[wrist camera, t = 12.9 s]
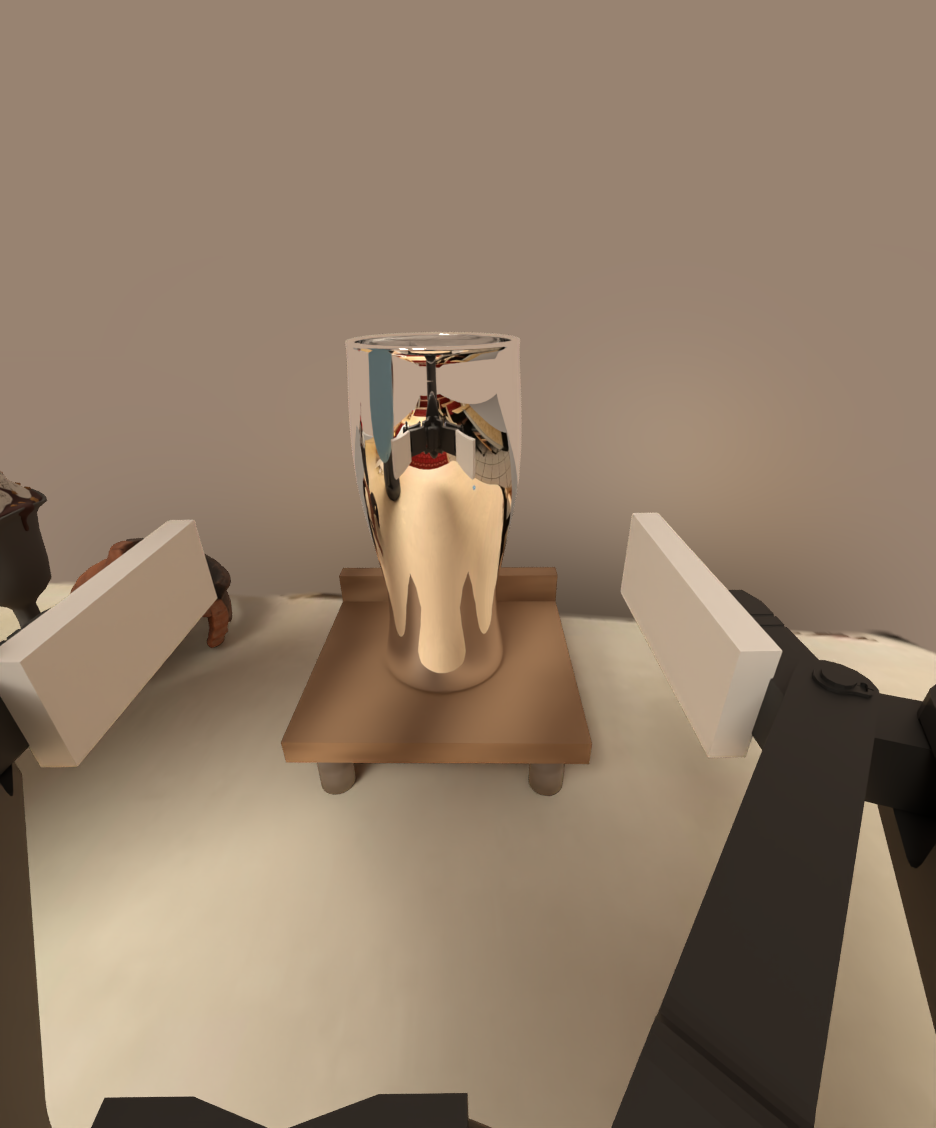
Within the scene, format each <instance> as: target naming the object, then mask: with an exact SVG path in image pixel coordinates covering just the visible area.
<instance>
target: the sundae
mask: <svg viewBox="0 0 936 1128" xmlns="http://www.w3.org/2000/svg"><path fill="white" fill-rule="evenodd" d="M46 501H47V499H46V497H45V495H44V494H42V493H40V492H39V491H36V490H34V489H31V488H30V487H22V486H20V483H16V482H15V483H14V482H12V481H9V480H8V479H7V478H6V477H5V476H4V474H3V473H2V472H1V471H0V606H1V607H7V608H10V609H12V610H13V612H14V614H15V615H16V617H17V619H18V621H19V624H20V626H21V629H22V626H23V625H25V624H26V623H27V622H29V621H30V620H31V619H33V618H34V617H35V616H37V615H38V614H39V613H40V610H39V608H38V606H37V604H36V601H37V598H38V597H39V595H40V594H41V593H42V592H43V591H44V590H45V589H46V587H47V585H48V583H49V581H50V579H51V572H50V567H49V561H48V556H47V553H46V549H45V546H44V543H43V540H42V536H41V532H40V529H39V523H38V516H37V511H38V509H39V507H40V506H41V505H42V504H44V503H45V502H46Z"/></svg>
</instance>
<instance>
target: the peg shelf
mask: <svg viewBox="0 0 936 1128" xmlns="http://www.w3.org/2000/svg"><path fill="white" fill-rule="evenodd" d="M339 578H340V585H341V591H342V598H343V603H342V605H341V607H340V610H339V612H338V614H337V617H336V619H335V621H334V623H333V626H332V628H331V630H330V632H329V635H328V637H327V639H326V641H325V644H324V646H323V648H322V651H321V653H320V655H319V657H318V660H317V662H316V664H315V666H314V669H313V671H312V673H311V675H310V678H309V680H308V682H307V685H306V687H305V689H304V691H303V694H302V696H301V698H300V700H299V703H298V705H297V707H296V709H295V712H294V714H293V716H292V719H291V721H290V723H289V725H288V728H287V730H286V732H285V734H284V737H283V739H282V741H281V745H282V748H283V752H284V756H285V760H286V762H317V766H318V770H319V775H320V779H321V784H322V787H323V789H324V791H326V792H327V793H329V794H341V793H344V792H346V791H347V790H348V789H350V788H351V787H352V785H353V784H354V782H355V771H354V765H353V763H530V764H529V785H530V787H531V788H532V789H533V790H534V791H535V792H536V793H538V794H540V795H545V796H550V795H554V794H556V793H557V792H559V790H560V789H561V787H562V780H563V772H564V764H589V761H590V754H591V747H592V742H591V738H590V734H589V730H588V726H587V722H586V719H585V715H584V711H583V707H582V703H581V699H580V695H579V691H578V687H577V683H576V680H575V676H574V672H573V668H572V664H571V660H570V656H569V652H568V648H567V644H566V641H565V637H564V633H563V629H562V625H561V621H560V617H559V613H558V610H557V605H556V602H555V600H556V599H555V598H556V587H557V572H556V569H555V567H526V568H525V567H519V568H518V567H514V568H513V567H512V568H510V567H504V568H501V570H500V575H499V580H498V589H497V612H498V619H499V624H500V630H501V635H502V640H503V658H502V661H501V664H500V666H499V668H498V669H497V670H496V672H495V673H494V674H493V675H492V676H491V677H490V678H488V679H487V680H485V681H484V682H482V683H480V684H478V685H476V686H474V687H471V688H469V689H465V690H461V691H456V692H447V693H436V692H428V691H423V690H419V689H416V688H413V687H411V686H408V685H406V684H405V683H403V682H401V681H400V680H399V679H397V678H396V677H395V676H394V675H393V673H392V672H391V671H390V669H389V667H388V664H387V661H386V646H387V639H388V631H389V616H390V614H389V601H388V595H387V589H386V584H385V581H384V577H383V574H382V570H381V568H343V569H342V571H341V573H340V576H339Z"/></svg>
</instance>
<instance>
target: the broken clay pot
mask: <svg viewBox="0 0 936 1128" xmlns="http://www.w3.org/2000/svg"><path fill="white" fill-rule="evenodd" d="M143 539H144V538H136V539H127V540H126V541H121V542H118V543H116V544H114V545H113V546H112V547H111V548H110V551H109V555H108V558H107V559H104V560H102V561H101V562H99V563H97V564H95V565H93V566H92V567H90V568H89V569H88V570H87V571H86V572H85V573H83V574H82V575H81V576H80V577H79V578H78V580H77V581H76V584H75V585H74V586H73V588H72V590H71V593H72V592H73V591H75V590H76V589H77V588H79V587H80V586H81V585H83V584H84V583H85V582H87V581H88V580H89V579H91V578H92V577H93V576H95V575H96V574H97V573H99V572H100V571H101V570H103V569H104V568H106V567H107V566H108V565H110V564H111V563H112V562H114V561H115V560H116V559H118V558H119V557H120V556H122V555H123V554H124V553H126V552H127V551H128V550H130V549H131V548H132V547H134V546H135V545H136V544H138V543H139V542H140V541H142V540H143ZM205 558H206V561H207V565H208V568H209V571H210V575H211V578H212V581H213V585H214V588H215V592H216V595H217V599H216V600H215V602H214V603H213V604H212V605H211V606H210V608H209V609H208V610H207V611H206V612H205V614H204V615H203V616H202V617H208V622H209V634H208V639H207V644H208V646H209V647H211V648H213V647H216V646H218V645H220V644H221V643H222V642H223V641H224V638H225V634H226V633H227V631H228V628H227V627H228V623H229V622H230V621H231V619H232V608H231V600H230V598H229V595H228V592H227V588H228V587H229V586H230V582H231V580H230V575H229V573H228V571H227V570H226V569H225V568H224V567H223V566H221V564H219V563H218V562H217V561H216V560H214V559H213V558H211V557H209V556H207V555H206V554H205ZM71 593H70V594H71Z"/></svg>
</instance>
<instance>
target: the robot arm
mask: <svg viewBox="0 0 936 1128" xmlns="http://www.w3.org/2000/svg"><path fill="white" fill-rule="evenodd" d="M621 594H622V596H623V598H624V600H625V601H626V603H627V605H628V607H629V609H630V611H631V613H632V615H633V616H634V619H635V620H636V622H637V624H638V626H639V628H640V630H641V632H642V634H643V636H644V637H645V639H646V641H647V643H648V645H649V647H650V649H651V651H652V653H653V654H654V656H655V658H656V660H657V662H658V664H659V666H660V668H661V670H662V671H663V673H664V675H665V677H666V679H667V681H668V683H669V685H670V687H671V688H672V690H673V692H674V694H675V696H676V698H677V700H678V702H679V703H680V705H681V707H682V709H683V711H684V713H685V715H686V717H687V719H688V720H689V722H690V724H691V726H692V728H693V730H694V732H695V734H696V736H697V737H698V739H699V741H700V743H701V745H702V747H703V749H704V751H705V753H706V754H707V756H708V758H731V757H745V756H746V754H747V751H748V748H749V745H750V742H751V739H752V737H754V738H755V740H756V741H757V743H758V744H759V746H760V747H761V749H762V753H761V755H760V758H759V760H758V763H757V765H756V768H755V770H754V773H753V775H752V778H751V780H750V783H749V785H748V788H747V790H746V793H745V795H744V798H743V800H742V803H741V806H740V808H739V811H738V813H737V816H736V818H735V821H734V823H733V826H732V828H731V831H730V833H729V836H728V838H727V841H726V843H725V846H724V848H723V851H722V853H721V856H720V858H719V861H718V863H717V866H716V868H715V871H714V874H713V876H712V879H711V881H710V884H709V886H708V889H707V891H706V894H705V896H704V899H703V901H702V904H701V906H700V909H699V911H698V914H697V916H696V919H695V921H694V924H693V926H692V929H691V931H690V934H689V936H688V939H687V942H686V944H685V947H684V949H683V952H682V954H681V957H680V959H679V962H678V964H677V967H676V969H675V972H674V974H673V977H672V979H671V982H670V984H669V987H668V989H667V992H666V994H665V997H664V999H663V1002H662V1004H661V1007H660V1009H659V1012H658V1014H657V1016H656V1018H655V1020H654V1022H653V1025H652V1027H651V1030H650V1032H649V1035H648V1037H647V1040H646V1042H645V1045H644V1047H643V1049H642V1052H641V1054H640V1057H639V1059H638V1062H637V1065H636V1067H635V1070H634V1072H633V1075H632V1077H631V1080H630V1082H629V1085H628V1087H627V1090H626V1092H625V1095H624V1097H623V1100H622V1102H621V1105H620V1107H619V1110H618V1112H617V1115H616V1117H615V1120H614V1122H613V1125H612V1127H611V1128H814V1123H815V1113H816V1106H817V1100H818V1093H819V1087H820V1081H821V1074H822V1068H823V1062H824V1055H825V1049H826V1043H827V1036H828V1030H829V1023H830V1017H831V1011H832V1004H833V998H834V992H835V985H836V979H837V973H838V966H839V960H840V954H841V947H842V941H843V935H844V928H845V922H846V915H847V909H848V903H849V896H850V890H851V884H852V877H853V871H854V865H855V858H856V852H857V846H858V839H859V833H860V826H861V820H862V814H863V807H864V801H866V802H870V803H874V804H877V805H878V809H879V813H880V817H881V821H882V825H883V828H884V832H885V836H886V840H887V844H888V848H889V852H890V856H891V860H892V864H893V868H894V872H895V876H896V880H897V883H898V887H899V891H900V895H901V899H902V903H903V907H904V911H905V915H906V919H907V923H908V927H909V931H910V935H911V938H912V942H913V946H914V950H915V954H916V958H917V962H918V966H919V970H920V974H921V978H922V982H923V986H924V990H925V993H926V997H927V1001H928V1005H929V1009H930V1013H931V1017H932V1021H933V1025H934V1029H935V1033H936V685H934V686H933V687H932V688H930V690H929V692H928V693H927V695H926V697H925V699H924V701H923V702H922V701H917V700H912V699H907V698H901V697H896V696H891V695H885V694H881V693H879V690H878V689H877V687H876V686H875V685H874V684H873V683H872V682H871V681H870V680H869V679H868V678H866V677H865V676H863V675H862V674H860V673H859V672H857V671H855V670H853V669H851V668H848V667H846V666H844V665H841V664H837V663H834V662H830V661H826V660H818V659H817V658H816V657H815V655H814V654H813V653H812V652H811V651H810V650H809V649H808V648H807V647H806V646H805V645H804V644H803V643H802V642H801V641H800V640H799V639H798V638H797V637H796V636H795V635H794V634H793V633H792V632H791V631H790V630H789V629H788V628H787V627H784V624H783V623H782V622H781V621H780V620H779V619H778V618H777V617H776V616H775V617H774V614H773V613H772V612H771V611H770V610H769V609H768V608H767V606H766V605H765V604H764V603H762V601H760V600H758V599H757V598H755V597H753V596H752V595H750V594H748V593H746V592H745V591H743V590H727V589H726V588H725V586H723V584H722V583H721V582H720V581H719V580H718V579H717V578H716V576H715V575H714V574H713V573H712V572H711V571H710V570H709V569H708V568H707V567H706V565H705V564H704V563H703V562H702V561H701V560H700V559H699V558H698V557H697V555H696V554H695V553H694V552H693V551H692V550H691V549H690V548H689V547H688V545H687V544H686V543H685V542H684V541H683V540H682V539H681V538H680V537H679V535H678V534H677V533H676V532H675V531H674V530H673V529H672V528H671V527H670V525H669V524H668V523H667V522H666V521H665V520H664V519H663V518H662V517H661V515H660V514H659V513H632V519H631V525H630V532H629V538H628V545H627V552H626V558H625V565H624V571H623V578H622V585H621ZM216 599H217V595H216V592H215V588H214V585H213V581H212V578H211V575H210V571H209V568H208V565H207V561H206V558H205V554H204V551H203V548H202V544H201V541H200V537H199V534H198V531H197V527H196V524H195V521H194V520H168V521H167V522H166V523H164V524H163V525H162V526H160V527H159V528H158V529H156V530H155V531H154V532H152V533H151V534H150V535H148V536H147V537H146V538H144V539H143V540H142V541H140V542H139V543H138V544H136V545H135V546H134V547H132V548H131V549H130V550H128V551H127V552H126V553H124V554H123V555H122V556H120V557H119V558H118V559H116V560H115V561H114V562H112V563H111V564H110V565H108V566H107V567H106V568H104V569H103V570H101V571H100V572H99V573H97V574H96V575H95V576H93V577H92V578H91V579H89V580H88V581H87V582H85V583H84V584H83V585H81V586H80V587H79V588H77V589H76V590H75V591H73V592H72V593H71V594H69V595H68V596H67V597H65V598H64V599H63V600H61V601H60V602H59V603H57V604H56V605H55V606H53V607H52V608H50V609H48V610H45V611H43V612H41V613H39V614H38V615H37V616H35V617H34V618H33V619H31V620H30V621H29V622H27V623H26V624H25V625H23V626H22V629H18V630H16V631H15V632H14V633H12V634H11V635H10V636H8V637H7V640H3V641H2V642H0V1128H52V1127H51V1124H50V1121H49V1117H48V1114H47V1108H46V1101H45V1089H44V1075H43V1061H42V1047H41V1034H40V1020H39V1006H38V992H37V978H36V964H35V950H34V936H33V922H32V908H31V894H30V881H29V867H28V853H27V839H26V825H25V811H24V797H23V783H22V774H21V772H20V770H19V768H18V767H17V765H16V764H15V762H14V761H15V760H16V759H17V758H18V757H19V756H20V755H21V754H22V753H23V752H24V751H25V750H26V749H27V748H28V747H29V749H30V750H31V752H32V754H33V755H34V757H35V759H36V760H37V762H38V764H39V765H40V767H78V766H79V764H80V763H81V762H82V761H83V760H84V758H85V757H86V756H87V755H88V754H89V752H90V751H91V750H92V749H93V748H94V746H95V745H96V744H97V743H98V741H99V740H100V739H101V738H102V737H103V735H104V734H105V733H106V732H107V731H108V729H109V728H110V727H111V726H112V725H113V723H114V722H115V721H116V720H117V719H118V717H119V716H120V715H121V714H122V713H123V711H124V710H125V709H126V708H127V706H128V705H129V704H130V703H131V702H132V700H133V699H134V698H135V697H136V696H137V694H138V693H139V692H140V691H141V690H142V688H143V687H144V686H145V685H146V684H147V682H148V681H149V680H150V679H151V678H152V676H153V675H154V674H155V673H156V671H157V670H158V669H159V668H160V667H161V665H162V664H163V663H164V662H165V661H166V659H167V658H168V657H169V656H170V655H171V653H172V652H173V651H174V650H175V649H176V647H177V646H178V645H179V644H180V643H181V641H182V640H183V639H184V638H185V637H186V635H187V634H188V633H189V632H190V630H191V629H192V628H193V627H194V626H195V624H196V623H197V622H198V621H199V620H200V618H201V617H202V616H203V615H204V614H205V612H206V611H207V610H208V609H209V608H210V606H211V605H212V604H213V603H214V602H215V600H216ZM91 1128H267V1127H264V1126H262V1125H260V1124H257V1123H255V1122H253V1121H250V1120H248V1119H245V1118H243V1117H241V1116H238V1115H236V1114H234V1113H231V1112H229V1111H226V1110H224V1109H222V1108H219V1107H217V1106H215V1105H212V1104H210V1103H207V1102H205V1101H203V1100H200V1099H198V1098H196V1097H120V1098H104V1100H103V1102H102V1105H101V1107H100V1109H99V1111H98V1114H97V1116H96V1118H95V1120H94V1122H93V1125H92V1127H91ZM290 1128H491V1127H489V1126H486V1125H484V1124H481V1123H479V1122H476V1121H474V1120H471V1119H469V1120H468V1094H467V1093H441V1094H378V1095H375V1096H373V1097H370V1098H367V1099H365V1100H362V1101H359V1102H357V1103H354V1104H351V1105H349V1106H346V1107H343V1108H341V1109H338V1110H335V1111H333V1112H330V1113H327V1114H325V1115H322V1116H319V1117H317V1118H314V1119H311V1120H309V1121H306V1122H303V1123H301V1124H298V1125H295V1126H293V1127H290Z"/></svg>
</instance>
